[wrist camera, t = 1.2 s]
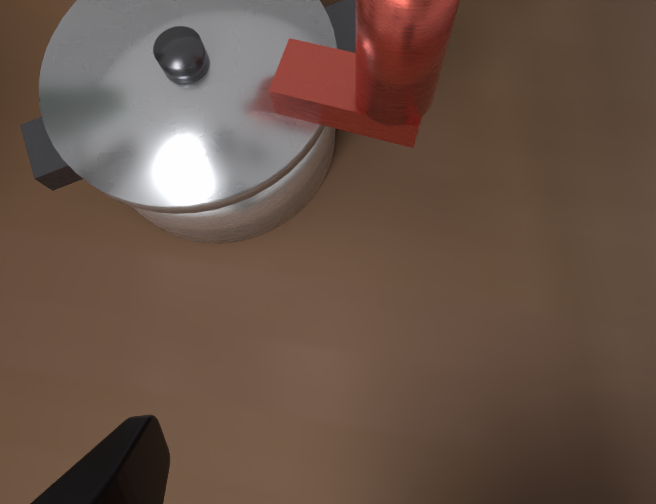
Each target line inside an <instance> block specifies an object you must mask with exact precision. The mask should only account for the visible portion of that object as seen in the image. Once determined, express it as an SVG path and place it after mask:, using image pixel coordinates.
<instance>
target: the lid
mask: <svg viewBox="0 0 656 504" xmlns="http://www.w3.org/2000/svg"><path fill="white" fill-rule="evenodd" d="M459 1H460V0H356V53H353V52H349V51H344V50H340V49H337V45H336V40H335V35H334V30H333V27H332V25H331V22H330V19H329V16H328V14H327V12H326V11H325V9H324V7H323V5H322V3H321V1H320V0H77V1H76V2H75V3H74V4H73V6H72V7H71V8H70V9H69V11H68V12H67V13H66V14H65V16H64V17H63V18H62V20H61V22H60V23H59V25H58V27H57V28H56V30H55V31H54V33H53V35H52V38H51V40H50V42H49V44H48V46H47V49H46V52H45V55H44V59H43V62H42V66H41V72H40V79H39V103H40V110H41V116H42V119H43V122H44V126H45V129H46V132H47V134H48V136H49V138H50V140H51V142H52V144H53V146H54V147H55V149H56V150H57V152H58V153H59V154H60V156H61V157H62V159H63V160H64V161H65V162H66V163H67V164H68V165H69V166H70V167H71V168H72V169H73V170H74V171H75V172H76V173H77V174H78V175H79V176H81V177H82V178H83V179H85V180H86V181H87V182H88V183H90V184H91V185H92V186H94V187H95V188H97V189H98V190H99V191H101V192H102V193H104V194H105V195H107V196H109V197H111V198H113V199H115V200H117V201H118V202H121V203H124V204H127V205H129V206H132V207H135V208H138V209H143V210H147V211H152V212H159V213H171V214H184V213H199V212H205V211H211V210H216V209H220V208H223V207H226V206H230V205H233V204H236V203H239V202H241V201H243V200H246V199H248V198H250V197H253V196H255V195H257V194H258V193H260V192H262V191H264V190H265V189H267V188H269V187H270V186H272V185H274V184H275V183H276V182H278V181H279V180H280V179H282V178H283V177H284V176H285V175H287V174H288V173H289V172H290V171H291V170H292V169H293V168H294V167H295V166H297V165H298V164H299V163H300V162H301V161H302V160H303V159H304V157H305V156H306V155H307V154H308V152H309V151H310V150H311V149H312V147H313V146H314V145H315V143H316V142H317V140H318V138H319V137H320V135H321V133H322V132H323V130H324V128H325V126H328V127H332V128H336V129H340V130H344V131H348V132H352V133H356V134H360V135H364V136H368V137H372V138H376V139H380V140H384V141H388V142H392V143H396V144H400V145H404V146H408V147H412V148H413V147H414V144H415V140H416V137H417V134H418V130H419V127H420V123H421V120H422V116H423V115H424V114H425V113H426V112H427V110H428V109H429V107H430V105H431V103H432V101H433V97H434V93H435V90H436V86H437V82H438V79H439V75H440V71H441V68H442V64H443V60H444V57H445V53H446V49H447V46H448V42H449V38H450V34H451V31H452V27H453V23H454V20H455V16H456V12H457V9H458V5H459Z"/></svg>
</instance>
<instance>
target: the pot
mask: <svg viewBox="0 0 656 504" xmlns="http://www.w3.org/2000/svg"><path fill="white" fill-rule="evenodd" d="M324 9H325V11H326V12H327V14H328V16H329V19H330V22H331V25H332V27H333V30H334V35H335V40H336V45H337V49H340V50H344V51H349V52H353V53H356V0H342V1H340V2H337V3H334V4H332V5H329V6H327V7H324ZM20 126H21V130H22V133H23V137H24V141H25V145H26V149H27V152H28V156H29V160H30V164H31V168H32V171H33V175H34V179H36V180H37V181H39V182H40V183H42V184H43V185H45V186H46V187H48V188H50V189H51V190H56V189H58V188H61V187H63V186H66V185H68V184H71V183H73V182H76V181H78V180H81V179H83V178H82V177H81V176H79V175H78V174H77V173H76V172H75V171H74V170H73V169H72V168H71V167H70V166H69V165H68V164H67V163H66V162H65V161H64V160H63V159H62V157H61V156H60V154H59V153H58V152H57V150H56V149H55V147H54V146H53V144H52V142H51V140H50V138H49V136H48V134H47V132H46V129H45V126H44V122H43V119H42V117H40V118H38V119H35V120H32V121H30V122H27V123H25V124H22V125H20ZM334 148H335V128H332V127H328V126H325V128H324V130H323V132H322V133H321V135H320V137H319V138H318V140H317V142H316V143H315V145H314V146H313V147H312V149H311V150H310V151H309V152H308V154H307V155H306V156H305V157H304V159H303V160H302V161H301V162H300V163H299V164H298V165H297V166H295V167H294V168H293V169H292V170H291V171H290V172H289V173H288V174H287V175H285V176H284V177H283V178H282V179H280V180H279V181H278V182H276V183H275V184H274V185H272V186H270V187H269V188H267V189H265V190H264V191H262V192H260V193H258V194H257V195H255V196H253V197H250V198H248V199H246V200H243V201H241V202H239V203H236V204H233V205H230V206H226V207H223V208H220V209H216V210H211V211H205V212H199V213H184V214H171V213H159V212H152V211H147V210H143V209H138V208H135V207H132V206H131V207H132V208H134V209H135V210H136V211H137V212H139V213H140V214H141V215H142V216H144V217H145V218H146V219H147V220H149V221H150V222H151V223H153V224H154V225H156V226H157V227H159V228H160V229H162V230H164V231H166V232H168V233H170V234H172V235H174V236H177V237H180V238H184V239H187V240H191V241H196V242H202V243H229V242H237V241H241V240H246V239H250V238H253V237H256V236H259V235H262V234H264V233H266V232H268V231H271V230H273V229H275V228H277V227H278V226H280V225H281V224H283V223H285V222H286V221H288V220H289V219H291V218H292V217H293V216H294V215H295V214H297V213H298V212H299V211H300V210H301V209H302V208H303V207H304V206H305V205H306V204H307V203H308V202H309V201H310V200H311V199H312V197H313V196H314V195H315V193H316V192H317V190H318V189H319V187H320V186H321V184H322V182H323V180H324V178H325V177H326V175H327V172H328V170H329V167H330V164H331V161H332V157H333V153H334Z"/></svg>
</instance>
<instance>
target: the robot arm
mask: <svg viewBox="0 0 656 504" xmlns="http://www.w3.org/2000/svg"><path fill="white" fill-rule="evenodd" d="M169 467H170V453H169V449H168V446H167V443H166V441H165V438H164V435H163V432H162V429H161V427H160V424H159V421H158V419H157V418H156V417H155V416H154V415H143V416H134V417H130V418H128V419H127V420H125V421H124V422H123V423H122V424H121V425H119V426H118V427H117V428H116V429H115V430H114V431H113V432H111V433H110V434H109V435H108V436H107V437H106V438H105V439H103V440H102V441H101V442H100V443H99V444H98V445H97V446H95V447H94V448H93V449H92V450H91V451H90V452H89V453H88V454H86V455H85V456H84V457H83V458H82V459H81V460H80V461H78V462H77V463H76V464H75V465H74V466H73V467H72V468H70V469H69V470H68V471H67V472H66V473H65V474H64V475H62V476H61V477H60V478H59V479H58V480H57V481H56V482H54V483H53V484H52V485H51V486H50V487H49V488H48V489H47V490H45V491H44V492H43V493H42V494H41V495H40V496H39V497H37V498H36V499H35V500H34V501H33V502H32V503H31V504H163V502H164V496H165V490H166V484H167V478H168V473H169Z"/></svg>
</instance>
